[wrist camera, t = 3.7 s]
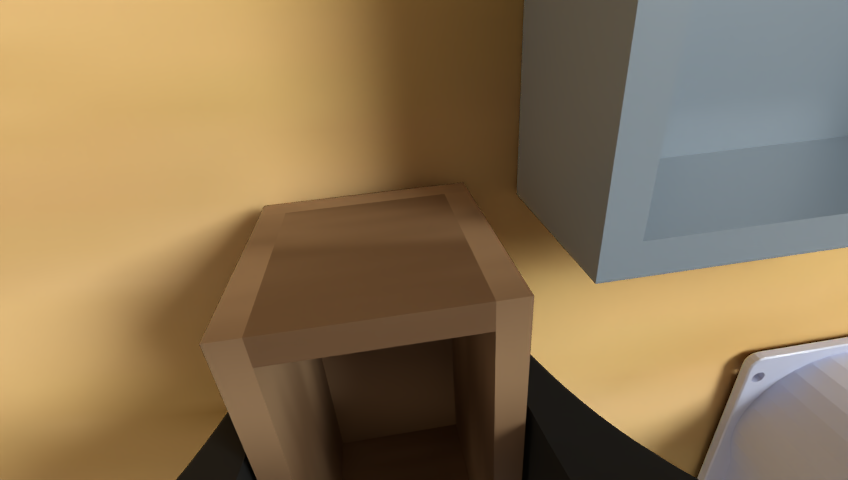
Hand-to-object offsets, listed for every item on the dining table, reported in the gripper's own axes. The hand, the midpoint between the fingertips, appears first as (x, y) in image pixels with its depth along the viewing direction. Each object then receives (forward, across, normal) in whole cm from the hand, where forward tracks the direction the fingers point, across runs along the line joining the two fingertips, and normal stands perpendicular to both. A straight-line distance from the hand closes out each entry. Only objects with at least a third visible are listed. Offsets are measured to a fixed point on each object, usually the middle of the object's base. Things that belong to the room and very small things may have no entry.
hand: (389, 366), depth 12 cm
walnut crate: (+2, 0, 0) cm, 2 cm away
